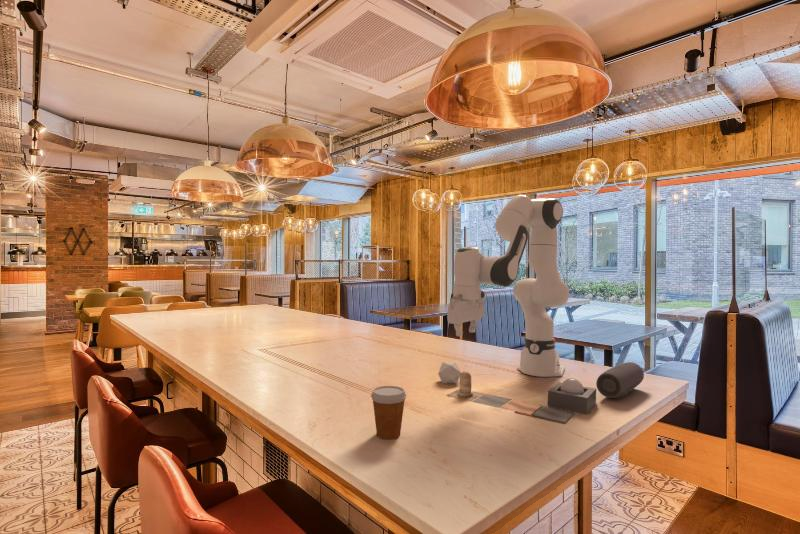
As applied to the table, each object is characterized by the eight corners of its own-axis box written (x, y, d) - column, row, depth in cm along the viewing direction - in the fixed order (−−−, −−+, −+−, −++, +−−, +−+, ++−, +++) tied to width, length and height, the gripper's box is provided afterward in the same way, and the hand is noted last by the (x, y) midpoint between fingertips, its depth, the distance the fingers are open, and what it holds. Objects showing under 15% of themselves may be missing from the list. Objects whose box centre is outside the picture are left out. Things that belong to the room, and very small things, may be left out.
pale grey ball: (563, 394, 148) (564, 374, 148) (586, 398, 144) (586, 378, 143) (557, 400, 142) (557, 379, 142) (580, 404, 138) (581, 383, 138)
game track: (459, 389, 158) (459, 388, 158) (574, 413, 135) (574, 412, 135) (445, 396, 150) (445, 395, 150) (565, 423, 127) (565, 421, 127)
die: (454, 389, 160) (467, 367, 163) (434, 377, 162) (447, 354, 165) (451, 391, 168) (463, 369, 171) (432, 379, 170) (444, 357, 172)
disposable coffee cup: (370, 428, 122) (370, 385, 122) (404, 427, 123) (404, 384, 123) (371, 442, 113) (371, 396, 113) (407, 441, 114) (408, 395, 113)
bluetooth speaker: (618, 384, 166) (618, 358, 166) (645, 390, 159) (645, 363, 159) (593, 398, 150) (594, 369, 150) (622, 404, 144) (623, 374, 143)
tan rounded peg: (462, 391, 155) (462, 368, 155) (475, 394, 152) (475, 371, 152) (454, 394, 151) (455, 371, 151) (468, 397, 148) (468, 374, 147)
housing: (558, 396, 151) (558, 382, 151) (596, 403, 144) (596, 388, 144) (547, 406, 142) (547, 390, 142) (587, 414, 135) (587, 398, 134)
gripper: (460, 296, 140) (459, 339, 140) (487, 292, 157) (486, 331, 157) (442, 295, 144) (442, 337, 144) (471, 291, 160) (470, 329, 161)
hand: (465, 334), depth 151 cm, fingers open, 8 cm apart
